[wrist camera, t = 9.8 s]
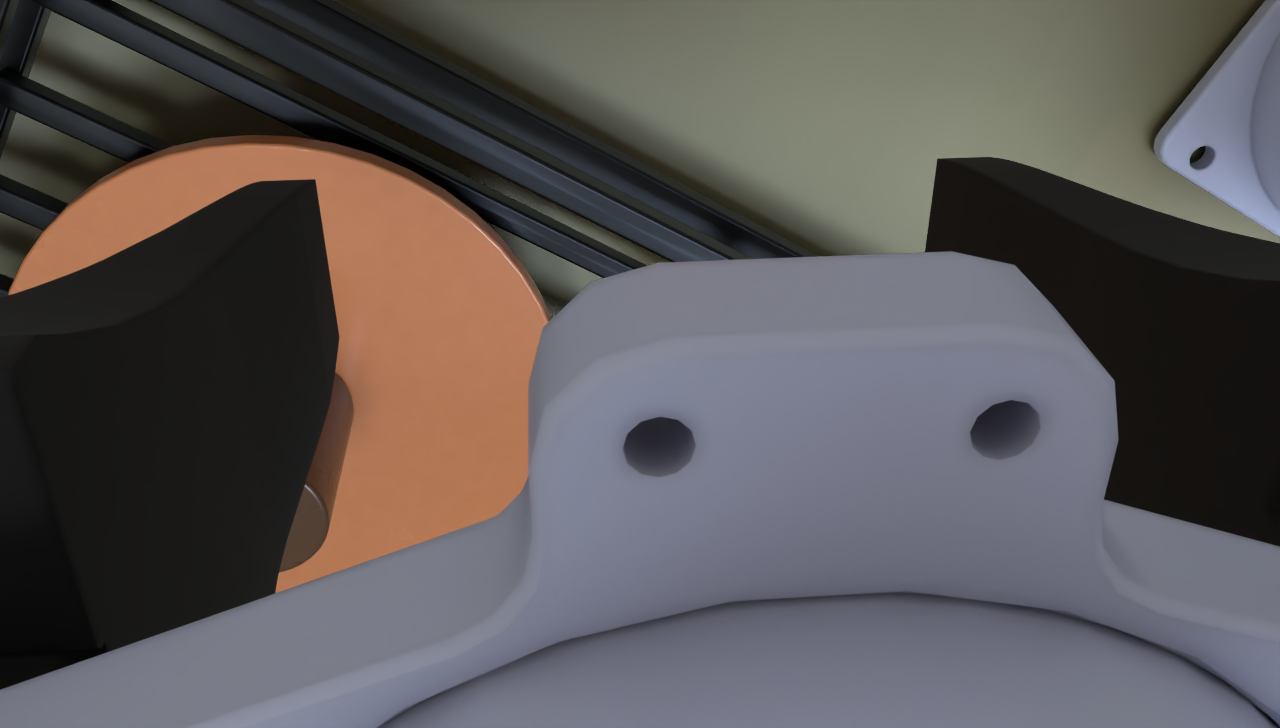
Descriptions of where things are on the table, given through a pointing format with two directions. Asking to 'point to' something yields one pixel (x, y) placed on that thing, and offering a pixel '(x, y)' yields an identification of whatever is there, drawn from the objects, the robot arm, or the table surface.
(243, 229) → the robot arm
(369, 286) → the lid
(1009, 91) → the table surface
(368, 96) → the dish rack
